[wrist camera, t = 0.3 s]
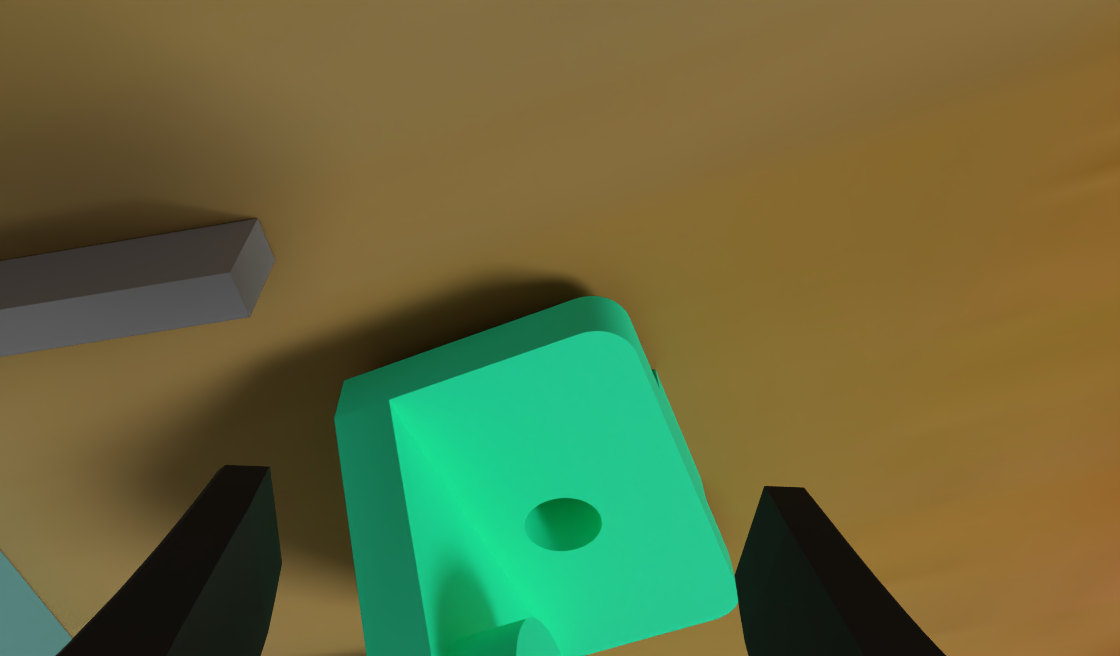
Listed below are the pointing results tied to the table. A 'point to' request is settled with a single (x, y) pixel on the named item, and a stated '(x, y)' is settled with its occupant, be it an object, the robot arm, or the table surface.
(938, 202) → the table surface
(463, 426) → the camera mount
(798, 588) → the robot arm
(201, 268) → the dock
